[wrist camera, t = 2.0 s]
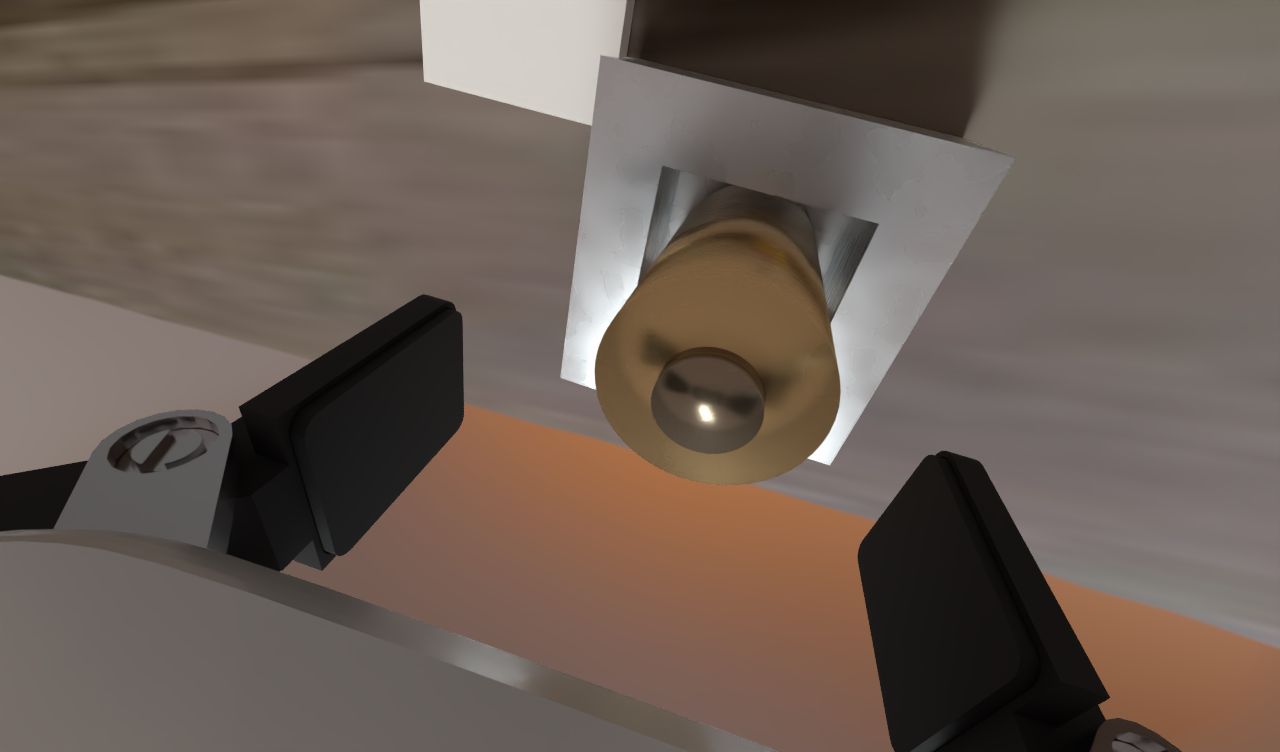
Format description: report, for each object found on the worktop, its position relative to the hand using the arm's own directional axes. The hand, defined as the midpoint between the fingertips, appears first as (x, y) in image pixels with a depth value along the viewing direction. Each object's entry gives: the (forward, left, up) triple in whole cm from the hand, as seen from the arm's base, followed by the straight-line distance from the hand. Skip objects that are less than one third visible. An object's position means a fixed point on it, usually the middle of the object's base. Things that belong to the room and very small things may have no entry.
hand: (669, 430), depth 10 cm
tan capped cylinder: (-1, 0, -11) cm, 11 cm away
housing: (-1, 0, -13) cm, 13 cm away
